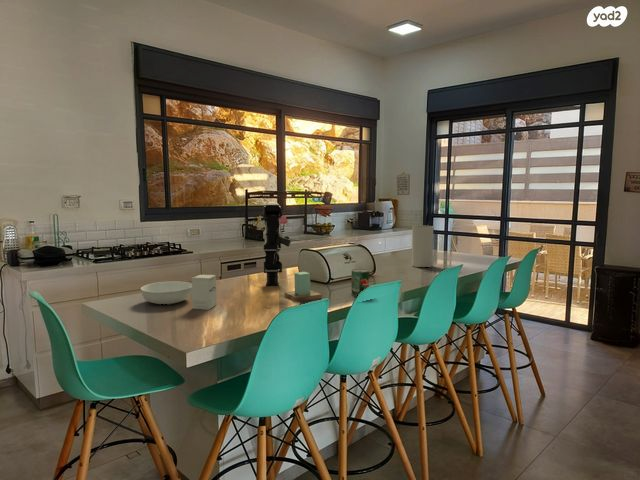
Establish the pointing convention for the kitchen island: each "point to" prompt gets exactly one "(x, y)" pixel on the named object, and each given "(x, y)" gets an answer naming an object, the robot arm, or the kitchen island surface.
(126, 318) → the kitchen island surface
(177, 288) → the serving bowl
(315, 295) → the walnut board
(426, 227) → the cylinder vase
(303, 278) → the teal block
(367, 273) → the canned tomato
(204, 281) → the supplement box
